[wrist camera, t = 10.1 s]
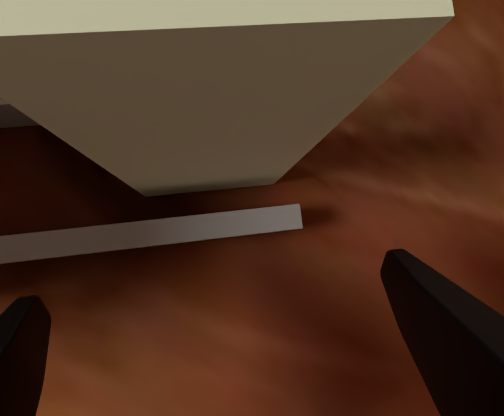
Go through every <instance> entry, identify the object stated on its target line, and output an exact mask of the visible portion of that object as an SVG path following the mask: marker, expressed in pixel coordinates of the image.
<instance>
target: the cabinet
mask: <svg viewBox="0 0 504 416" xmlns="http://www.w3.org/2000/svg"><path fill="white" fill-rule="evenodd" d="M35 125H40V124H38V123H37V122H35V121H34V120H33V119H31V118H30V117H28V116H27V115H25V114H24V113H22V112H21V111H19V110H18V109H16V108H15V107H14V106H12V105H11V104H9V103H8V102H6V101H5V100H3V99H2V98H0V128H8V127H21V126H35ZM301 228H303V226H302V218H301V210H300V204H293V205H284V206H274V207H265V208H256V209H247V210H237V211H228V212H219V213H210V214H200V215H191V216H182V217H173V218H164V219H154V220H145V221H136V222H127V223H117V224H108V225H99V226H90V227H80V228H71V229H62V230H53V231H43V232H34V233H25V234H16V235H6V236H0V264H5V263H13V262H22V261H31V260H39V259H48V258H56V257H65V256H73V255H82V254H90V253H99V252H108V251H116V250H125V249H133V248H142V247H150V246H159V245H168V244H176V243H185V242H193V241H202V240H210V239H219V238H227V237H236V236H245V235H253V234H262V233H270V232H279V231H287V230H294V229H301Z"/></svg>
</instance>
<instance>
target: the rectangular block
mask: <svg viewBox="0 0 504 416" xmlns="http://www.w3.org/2000/svg"><path fill="white" fill-rule="evenodd" d="M453 17H454V10H453V4H452V0H0V98H2V99H3V100H5V101H6V102H8V103H9V104H11V105H12V106H14V107H15V108H16V109H18V110H19V111H21V112H22V113H24V114H25V115H27V116H28V117H30V118H31V119H33V120H34V121H35V122H37V123H38V124H40V125H41V126H43V127H44V128H46V129H47V130H49V131H50V132H52V133H53V134H54V135H56V136H57V137H59V138H60V139H62V140H63V141H65V142H66V143H68V144H69V145H70V146H72V147H73V148H75V149H76V150H78V151H79V152H81V153H82V154H84V155H85V156H87V157H88V158H89V159H91V160H92V161H94V162H95V163H97V164H98V165H100V166H101V167H103V168H104V169H106V170H107V171H108V172H110V173H111V174H113V175H114V176H116V177H117V178H119V179H120V180H122V181H123V182H125V183H126V184H127V185H129V186H130V187H132V188H133V189H135V190H136V191H138V192H139V193H141V194H142V195H144V196H145V197H148V196H159V195H169V194H179V193H189V192H199V191H209V190H220V189H230V188H240V187H250V186H260V185H270V184H275V183H276V182H277V181H278V180H279V179H280V178H281V177H282V176H283V175H284V174H285V173H286V172H287V171H289V170H290V169H291V168H292V167H293V166H294V165H295V164H296V163H297V162H298V161H299V160H300V159H301V158H302V157H304V156H305V155H306V154H307V153H308V152H309V151H310V150H311V149H312V148H313V147H314V146H315V145H316V144H318V143H319V142H320V141H321V140H322V139H323V138H324V137H325V136H326V135H327V134H328V133H329V132H330V131H332V130H333V129H334V128H335V127H336V126H337V125H338V124H339V123H340V122H341V121H342V120H343V119H344V118H345V117H347V116H348V115H349V114H350V113H351V112H352V111H353V110H354V109H355V108H356V107H357V106H358V105H359V104H361V103H362V102H363V101H364V100H365V99H366V98H367V97H368V96H369V95H370V94H371V93H372V92H373V91H374V90H376V89H377V88H378V87H379V86H380V85H381V84H382V83H383V82H384V81H385V80H386V79H387V78H388V77H390V76H391V75H392V74H393V73H394V72H395V71H396V70H397V69H398V68H399V67H400V66H401V65H402V64H403V63H405V62H406V61H407V60H408V59H409V58H410V57H411V56H412V55H413V54H414V53H415V52H416V51H417V50H419V49H420V48H421V47H422V46H423V45H424V44H425V43H426V42H427V41H428V40H429V39H430V38H431V37H432V36H434V35H435V34H436V33H437V32H438V31H439V30H440V29H441V28H442V27H443V26H444V25H445V24H446V23H448V22H449V21H450V20H451V19H452V18H453Z"/></svg>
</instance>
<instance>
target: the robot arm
mask: <svg viewBox="0 0 504 416" xmlns="http://www.w3.org/2000/svg"><path fill="white" fill-rule="evenodd" d="M380 274H381V279H382V282H383V285H384V288H385V291H386V293H387V296H388V299H389V302H390V305H391V308H392V310H393V313H394V316H395V319H396V322H397V324H398V327H399V329H400V332H401V334H402V336H403V338H404V340H405V342H406V344H407V347H408V349H409V351H410V353H411V355H412V357H413V359H414V361H415V363H416V365H417V367H418V370H419V372H420V374H421V376H422V378H423V380H424V382H425V384H426V386H427V388H428V391H429V393H430V395H431V397H432V399H433V401H434V403H435V405H436V407H437V409H438V411H439V414H440V416H504V316H502V315H501V314H499V313H498V312H496V311H495V310H493V309H492V308H490V307H489V306H488V305H486V304H485V303H483V302H482V301H480V300H479V299H477V298H476V297H474V296H473V295H471V294H470V293H468V292H467V291H465V290H464V289H462V288H461V287H459V286H458V285H456V284H455V283H453V282H452V281H450V280H449V279H447V278H446V277H444V276H443V275H442V274H440V273H439V272H437V271H436V270H434V269H433V268H431V267H430V266H428V265H427V264H425V263H424V262H422V261H421V260H419V259H418V258H416V257H415V256H413V255H412V254H410V253H409V252H407V251H406V250H404V249H393V250H388V251H387V252H386V255H385V258H384V261H383V264H382V267H381V271H380ZM50 328H51V316H50V313H49V312H48V310H47V308H46V307H45V305H44V303H43V302H42V300H41V299H40V297H39V296H37V295H30V296H22V297H19V298H17V299H16V300H15V301H14V302H13V303H12V304H11V305H10V306H9V307H8V308H7V309H6V310H5V311H4V312H3V313H2V314H1V315H0V416H36V412H37V408H38V404H39V400H40V396H41V391H42V387H43V381H44V375H45V368H46V360H47V352H48V344H49V336H50Z"/></svg>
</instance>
